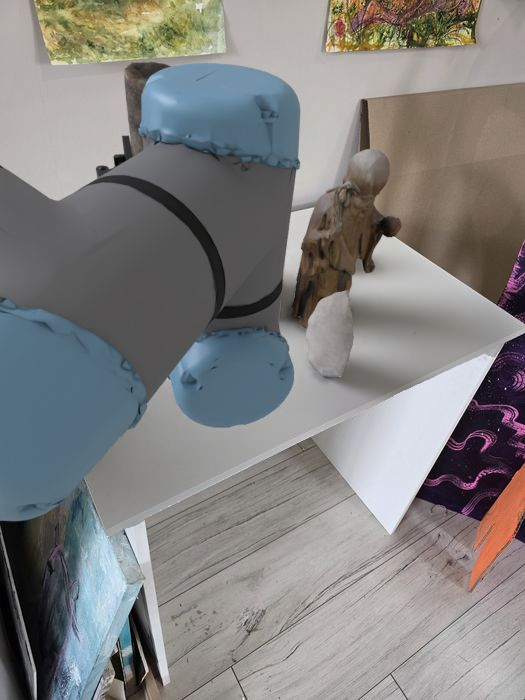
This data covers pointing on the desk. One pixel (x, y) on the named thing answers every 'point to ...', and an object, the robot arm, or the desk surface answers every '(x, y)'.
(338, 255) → the sculpture
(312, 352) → the stone tool
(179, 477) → the desk surface
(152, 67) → the candle
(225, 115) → the robot arm
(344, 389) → the desk surface
